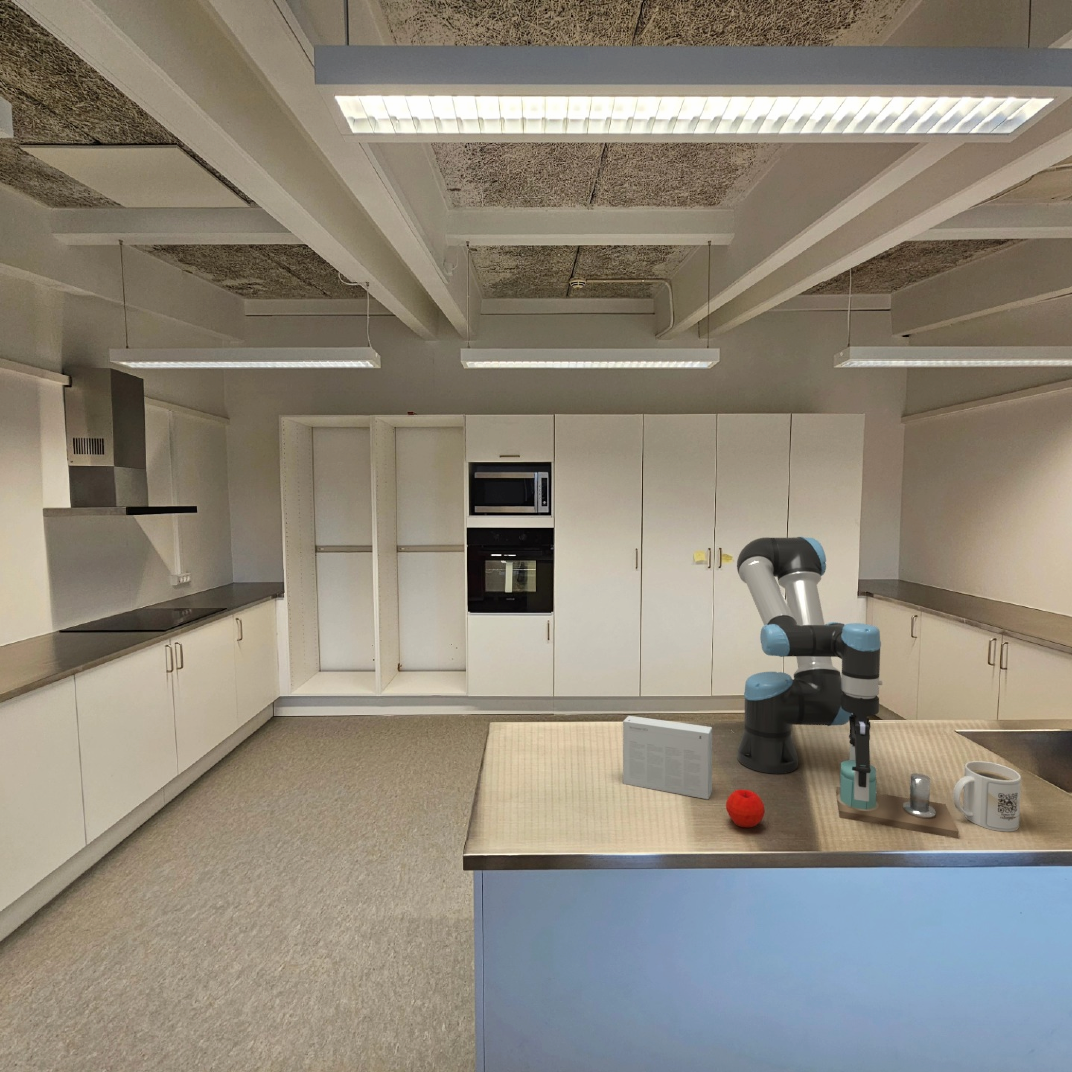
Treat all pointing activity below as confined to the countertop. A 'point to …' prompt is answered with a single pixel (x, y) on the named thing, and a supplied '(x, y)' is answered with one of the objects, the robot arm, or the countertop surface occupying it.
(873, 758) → the countertop surface
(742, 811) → the apple
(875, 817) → the board
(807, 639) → the robot arm
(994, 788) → the mug
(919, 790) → the stud
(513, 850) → the countertop surface
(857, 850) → the countertop surface
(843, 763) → the cap
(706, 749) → the skincare box
